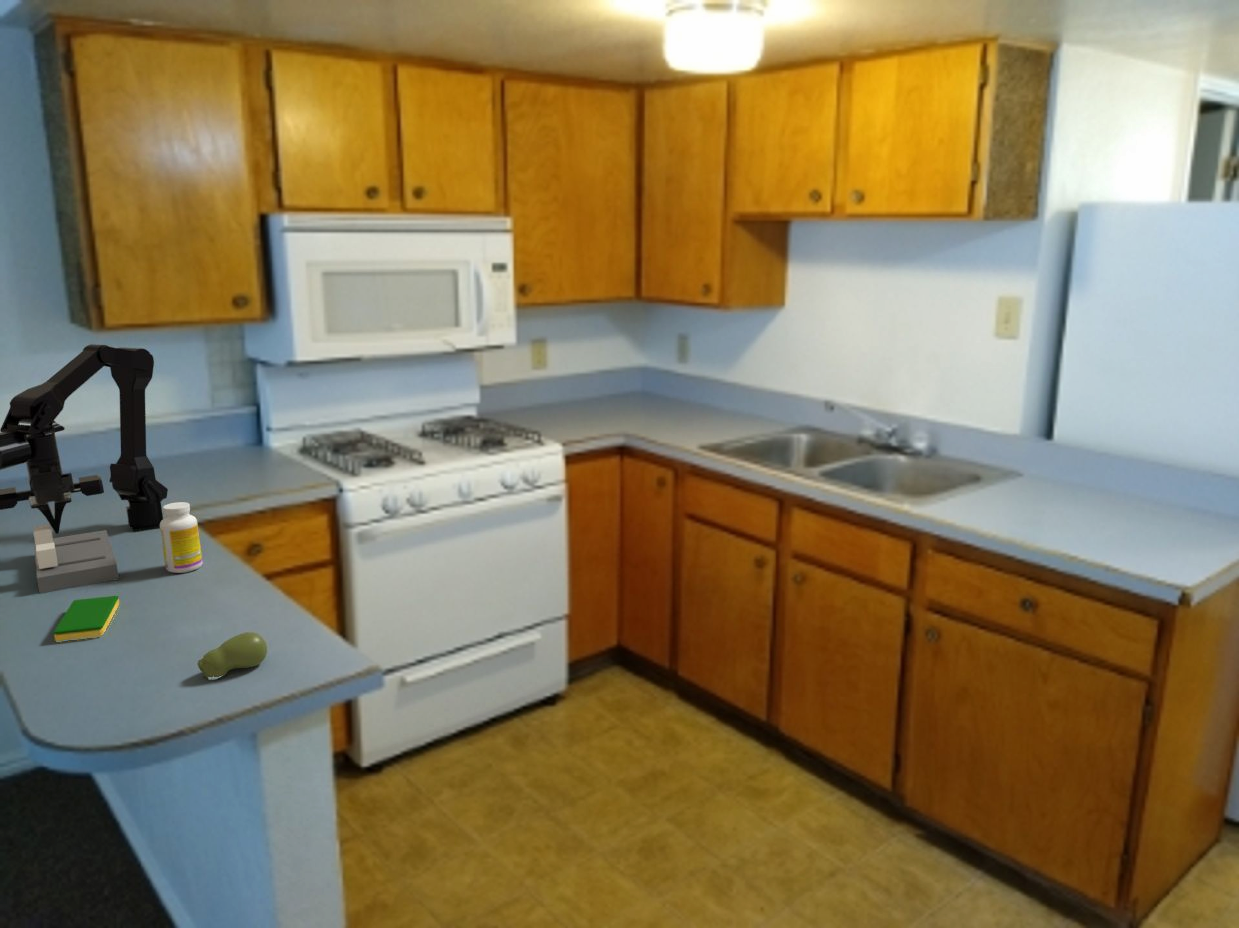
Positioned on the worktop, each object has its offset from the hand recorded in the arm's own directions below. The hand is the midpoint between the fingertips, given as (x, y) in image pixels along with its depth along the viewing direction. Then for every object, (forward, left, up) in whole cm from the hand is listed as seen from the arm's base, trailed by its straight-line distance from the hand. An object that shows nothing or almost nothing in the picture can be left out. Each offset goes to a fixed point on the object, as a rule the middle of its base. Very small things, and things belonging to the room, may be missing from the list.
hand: (57, 533), depth 190 cm
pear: (-20, +70, -6) cm, 73 cm away
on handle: (+2, +13, -2) cm, 13 cm away
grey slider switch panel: (-2, +6, -6) cm, 9 cm away
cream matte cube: (+2, 0, -2) cm, 3 cm away
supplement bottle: (-20, +19, -6) cm, 28 cm away
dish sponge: (-3, +38, -6) cm, 39 cm away
